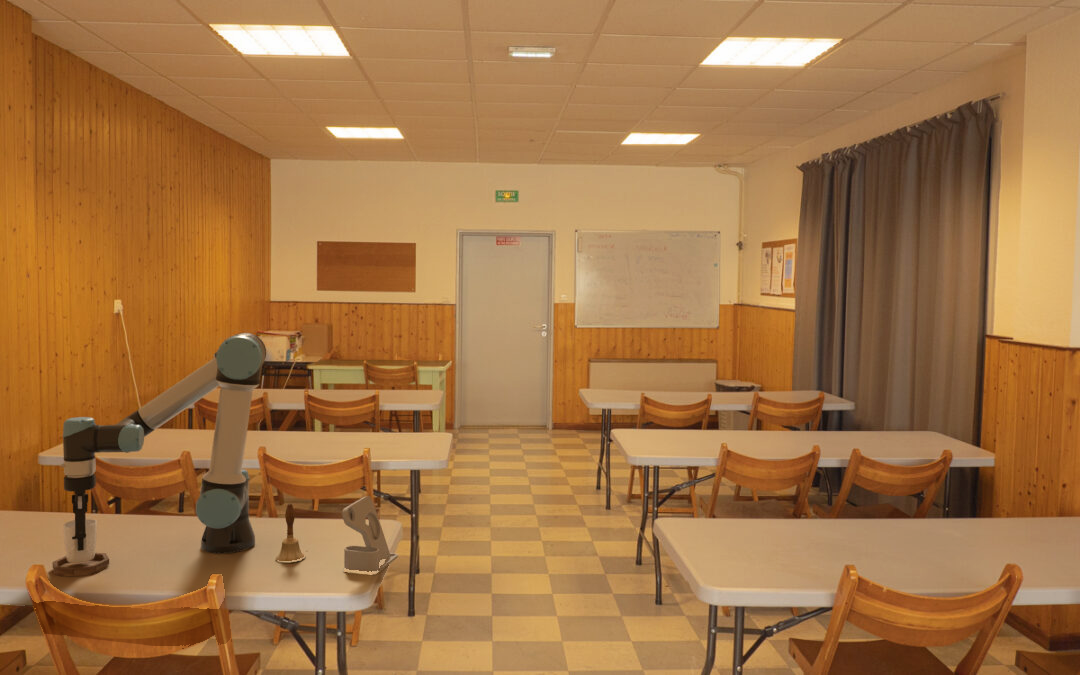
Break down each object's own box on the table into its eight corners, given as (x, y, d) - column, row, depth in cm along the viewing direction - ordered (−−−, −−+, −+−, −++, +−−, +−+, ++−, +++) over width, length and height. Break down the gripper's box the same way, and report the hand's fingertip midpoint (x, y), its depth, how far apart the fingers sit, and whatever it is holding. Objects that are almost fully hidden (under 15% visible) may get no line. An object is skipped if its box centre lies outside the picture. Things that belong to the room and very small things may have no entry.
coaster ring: (118, 561, 230) (118, 554, 229) (86, 578, 217) (86, 570, 217) (76, 558, 231) (76, 551, 231) (42, 574, 219) (42, 566, 218)
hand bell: (269, 561, 233) (269, 506, 231) (287, 552, 240) (287, 499, 239) (293, 565, 230) (293, 509, 229) (311, 556, 238) (311, 502, 236)
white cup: (74, 565, 218) (73, 529, 218) (58, 560, 223) (57, 524, 222) (103, 557, 225) (102, 522, 224) (87, 552, 229) (86, 517, 229)
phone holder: (374, 576, 223) (374, 511, 221) (340, 572, 225) (340, 508, 224) (399, 556, 239) (399, 495, 238) (367, 552, 242) (367, 492, 240)
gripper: (64, 467, 229) (66, 547, 231) (62, 484, 212) (64, 570, 213) (95, 465, 233) (96, 543, 235) (95, 481, 215) (96, 566, 217)
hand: (81, 556), depth 224 cm, fingers closed on white cup, 7 cm apart
